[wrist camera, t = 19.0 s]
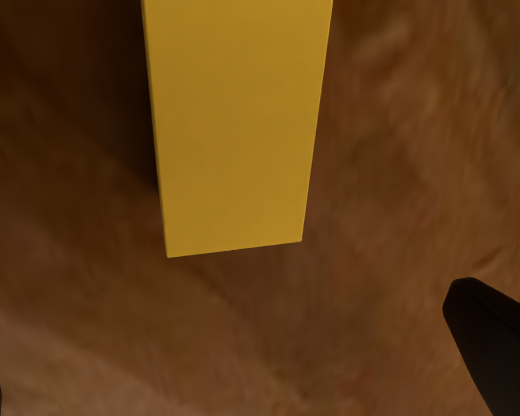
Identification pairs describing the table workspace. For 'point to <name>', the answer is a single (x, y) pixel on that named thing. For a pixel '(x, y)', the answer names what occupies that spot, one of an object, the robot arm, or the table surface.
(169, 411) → the table surface
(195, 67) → the sponge
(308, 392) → the table surface
